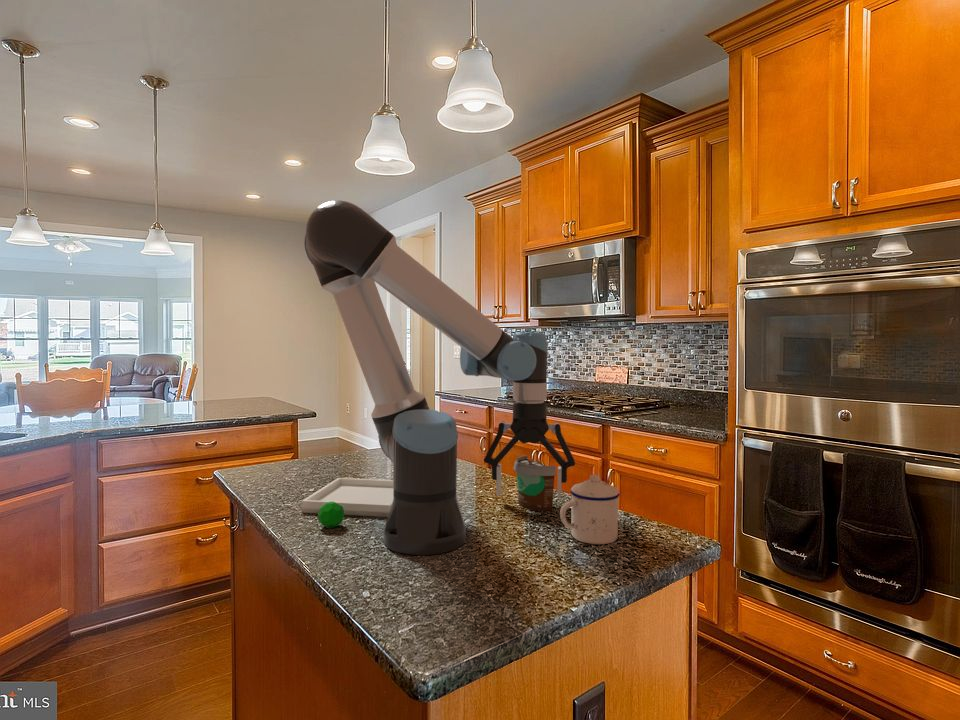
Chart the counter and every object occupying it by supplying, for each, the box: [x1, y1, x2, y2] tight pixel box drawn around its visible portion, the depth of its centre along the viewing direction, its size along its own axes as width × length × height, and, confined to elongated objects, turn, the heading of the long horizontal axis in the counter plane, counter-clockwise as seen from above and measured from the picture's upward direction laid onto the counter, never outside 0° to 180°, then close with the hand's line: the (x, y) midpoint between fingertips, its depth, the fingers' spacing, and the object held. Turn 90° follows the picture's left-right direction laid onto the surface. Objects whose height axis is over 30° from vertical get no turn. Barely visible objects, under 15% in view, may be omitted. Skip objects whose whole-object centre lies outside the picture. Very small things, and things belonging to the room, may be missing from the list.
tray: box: [301, 477, 393, 518], centre depth 123 cm, size 20×20×2 cm
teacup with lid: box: [559, 474, 620, 545], centre depth 101 cm, size 12×9×12 cm
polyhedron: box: [317, 502, 345, 529], centre depth 106 cm, size 5×5×5 cm
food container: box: [513, 455, 557, 511], centre depth 121 cm, size 12×6×10 cm, turn 27°
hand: (528, 495), depth 121 cm, fingers open, 13 cm apart
